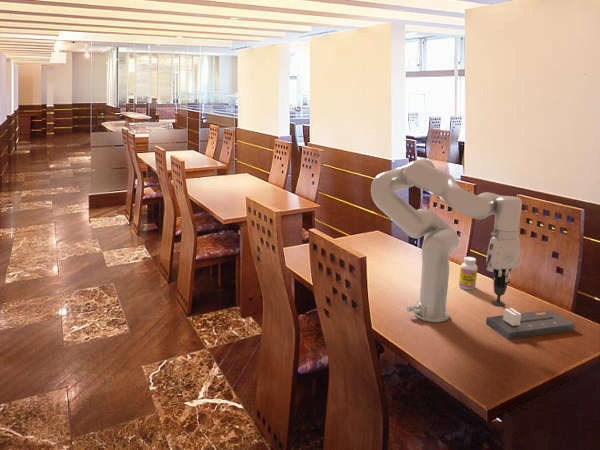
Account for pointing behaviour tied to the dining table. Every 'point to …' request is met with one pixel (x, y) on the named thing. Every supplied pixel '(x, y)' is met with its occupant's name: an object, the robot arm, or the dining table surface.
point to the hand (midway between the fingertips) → (499, 286)
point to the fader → (512, 316)
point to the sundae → (499, 292)
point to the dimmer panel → (531, 324)
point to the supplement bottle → (468, 273)
